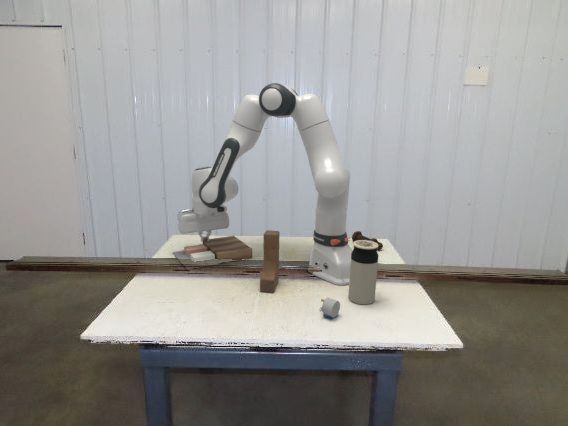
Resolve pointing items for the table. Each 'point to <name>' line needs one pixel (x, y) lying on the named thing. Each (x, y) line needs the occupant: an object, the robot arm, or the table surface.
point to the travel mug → (363, 272)
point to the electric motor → (330, 307)
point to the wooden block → (270, 262)
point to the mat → (181, 255)
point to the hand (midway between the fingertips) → (204, 241)
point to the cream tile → (202, 256)
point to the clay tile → (194, 249)
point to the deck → (228, 248)
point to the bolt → (359, 236)
